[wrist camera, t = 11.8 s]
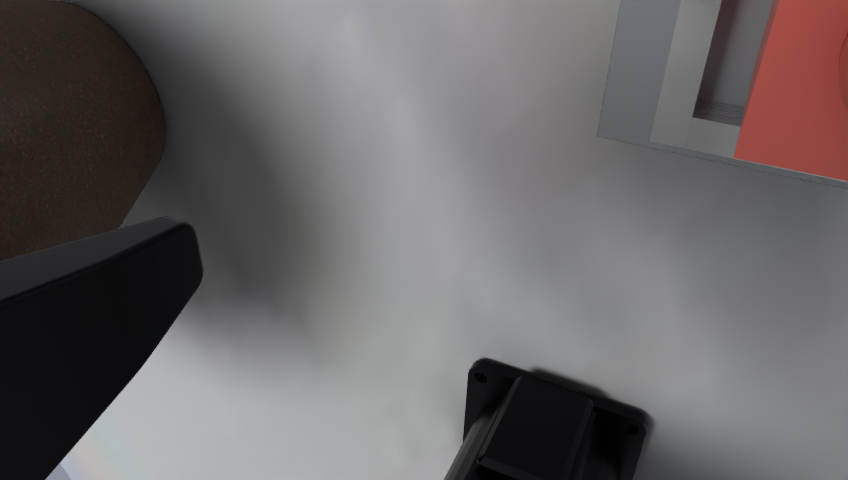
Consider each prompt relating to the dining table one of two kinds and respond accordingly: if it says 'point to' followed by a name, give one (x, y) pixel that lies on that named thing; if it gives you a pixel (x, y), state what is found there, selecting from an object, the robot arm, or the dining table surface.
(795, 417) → the dining table surface
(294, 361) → the dining table surface
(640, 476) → the dining table surface
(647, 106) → the panel
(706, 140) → the socket
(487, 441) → the robot arm
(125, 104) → the plant pot
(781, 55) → the red block
